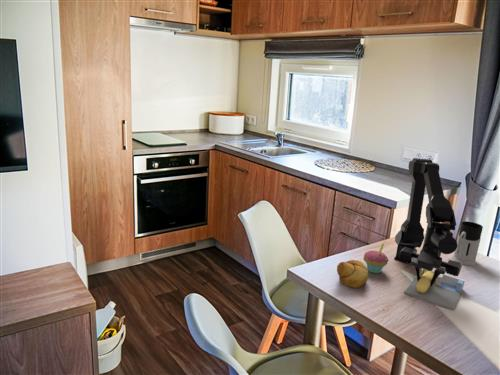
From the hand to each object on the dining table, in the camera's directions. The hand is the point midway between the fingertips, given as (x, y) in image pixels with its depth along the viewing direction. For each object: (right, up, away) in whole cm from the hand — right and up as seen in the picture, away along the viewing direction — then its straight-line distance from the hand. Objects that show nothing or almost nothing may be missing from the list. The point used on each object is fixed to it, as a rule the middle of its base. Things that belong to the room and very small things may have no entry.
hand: (424, 283), depth 142 cm
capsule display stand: (+3, -2, -1) cm, 4 cm away
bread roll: (-24, 0, +1) cm, 24 cm away
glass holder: (+24, +3, +23) cm, 34 cm away
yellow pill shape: (0, -1, 0) cm, 1 cm away
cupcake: (-14, +2, +11) cm, 18 cm away
